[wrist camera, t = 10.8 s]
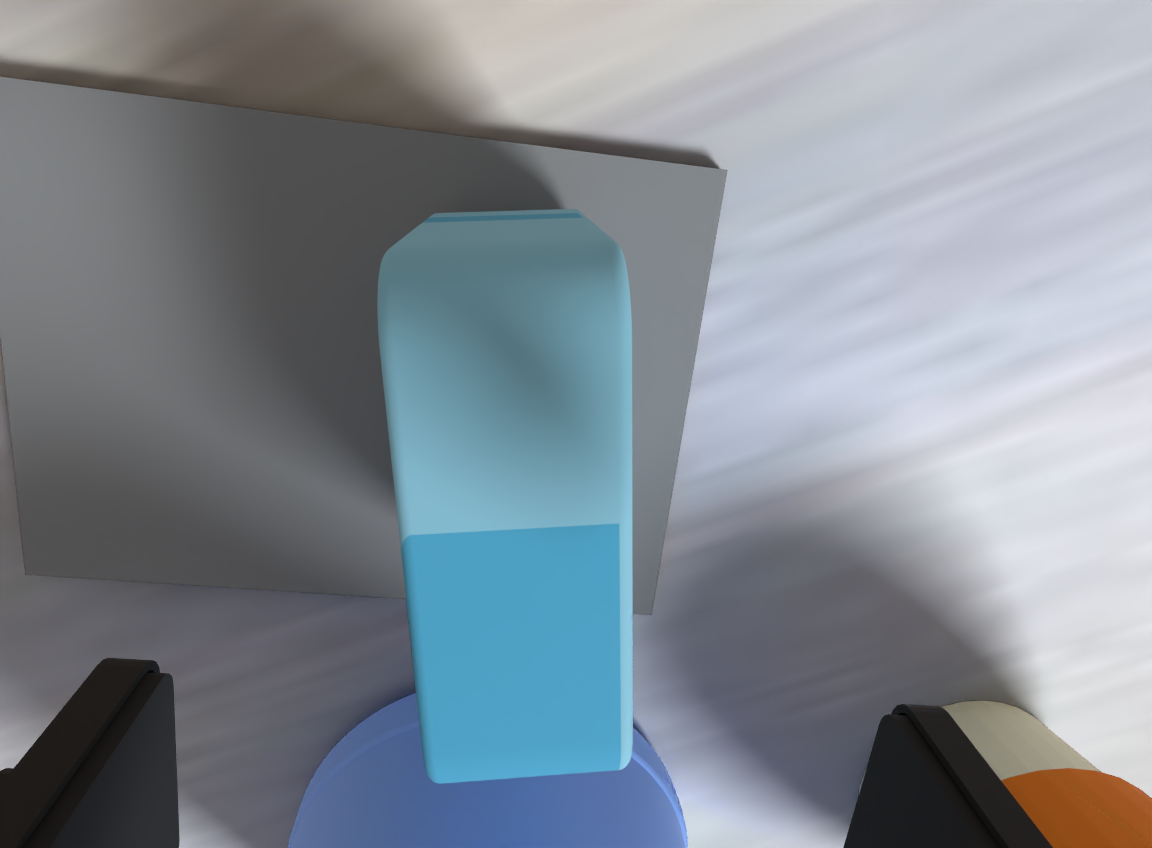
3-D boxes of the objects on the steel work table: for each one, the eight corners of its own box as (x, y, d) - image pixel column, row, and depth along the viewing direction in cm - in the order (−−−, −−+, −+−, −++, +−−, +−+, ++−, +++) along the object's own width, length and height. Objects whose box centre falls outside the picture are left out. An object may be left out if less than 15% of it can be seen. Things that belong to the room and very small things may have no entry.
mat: (720, 169, 26) (727, 170, 25) (647, 603, 31) (651, 614, 30) (-10, 75, 23) (-28, 72, 23) (38, 563, 28) (25, 574, 28)
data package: (433, 209, 25) (367, 256, 13) (578, 204, 25) (634, 247, 14) (460, 556, 29) (427, 820, 17) (586, 549, 29) (634, 803, 18)
